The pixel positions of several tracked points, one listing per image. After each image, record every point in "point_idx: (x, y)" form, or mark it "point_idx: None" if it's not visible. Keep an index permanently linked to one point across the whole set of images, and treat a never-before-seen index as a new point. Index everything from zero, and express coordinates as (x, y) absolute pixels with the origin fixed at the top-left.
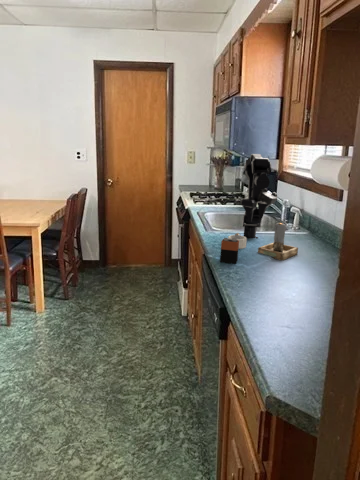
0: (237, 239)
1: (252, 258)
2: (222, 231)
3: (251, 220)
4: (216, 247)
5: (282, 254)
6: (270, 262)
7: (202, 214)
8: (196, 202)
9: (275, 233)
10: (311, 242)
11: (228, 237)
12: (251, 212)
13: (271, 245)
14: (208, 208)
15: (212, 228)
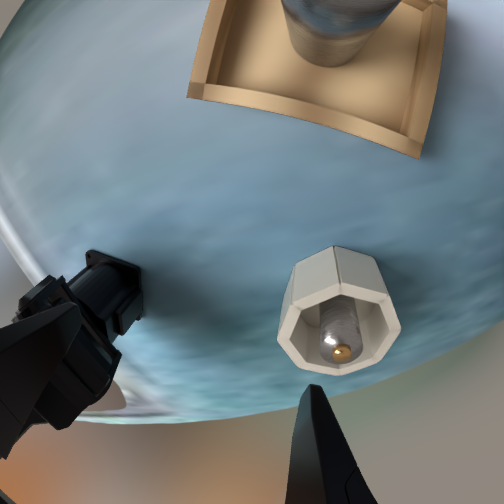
0: (395, 321)
1: (484, 166)
2: (126, 379)
3: (316, 388)
4: None
5: (445, 2)
6: (492, 70)
7: None
8: None
9: (391, 12)
10: (20, 45)
11: (348, 369)
12: (371, 497)
13: (261, 93)
14: None
15: (126, 401)
